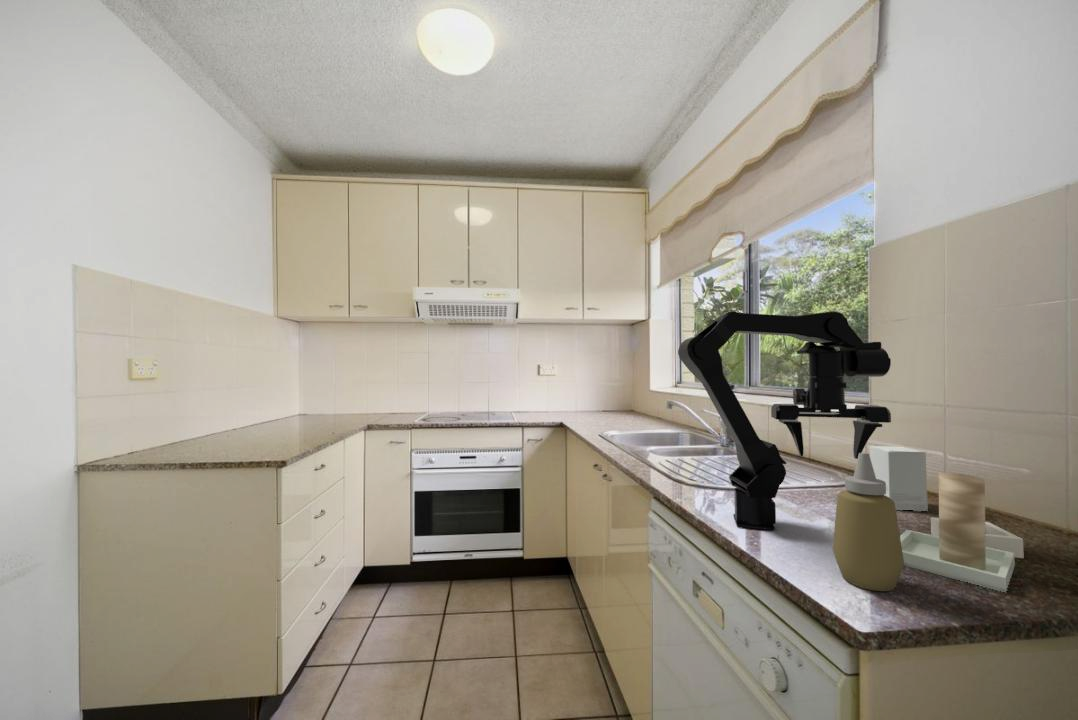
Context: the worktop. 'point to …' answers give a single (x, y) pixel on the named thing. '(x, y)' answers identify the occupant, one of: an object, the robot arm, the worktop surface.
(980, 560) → the maple dowel
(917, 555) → the sage tray
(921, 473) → the supplement box
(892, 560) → the squeeze bottle
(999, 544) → the socket block
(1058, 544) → the worktop surface
